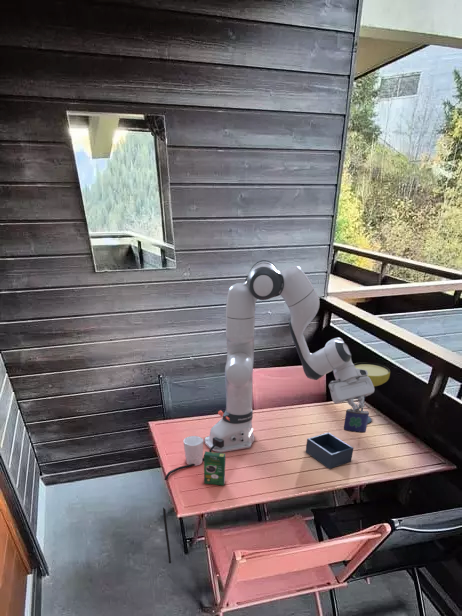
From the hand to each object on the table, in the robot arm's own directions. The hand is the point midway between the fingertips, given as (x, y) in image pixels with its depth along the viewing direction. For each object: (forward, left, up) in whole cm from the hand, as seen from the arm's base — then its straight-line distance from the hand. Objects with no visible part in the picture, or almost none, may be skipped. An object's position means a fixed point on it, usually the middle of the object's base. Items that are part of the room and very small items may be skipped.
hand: (359, 408), depth 180 cm
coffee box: (-64, +7, -19) cm, 67 cm away
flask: (0, 0, -11) cm, 11 cm away
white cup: (-64, +25, -19) cm, 71 cm away
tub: (-13, +1, -19) cm, 23 cm away
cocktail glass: (+24, +21, -19) cm, 37 cm away
